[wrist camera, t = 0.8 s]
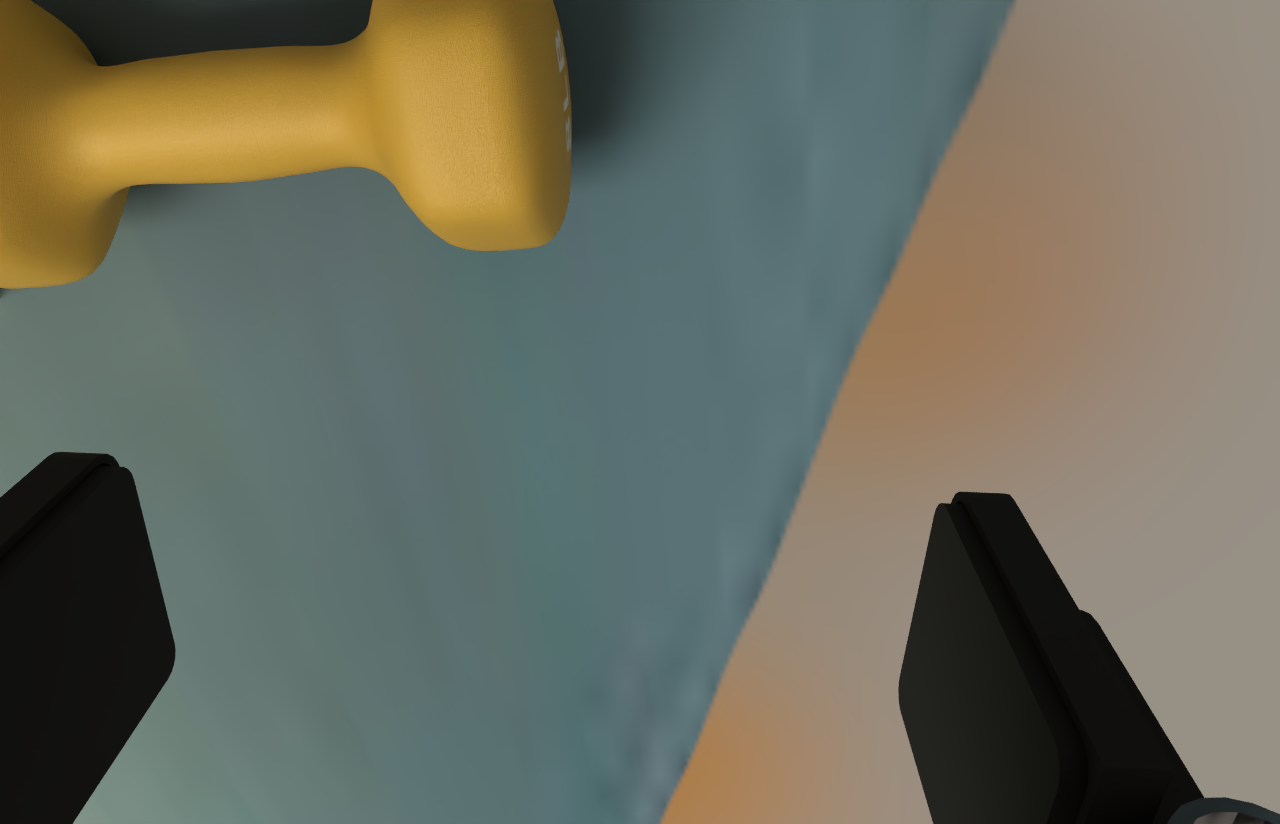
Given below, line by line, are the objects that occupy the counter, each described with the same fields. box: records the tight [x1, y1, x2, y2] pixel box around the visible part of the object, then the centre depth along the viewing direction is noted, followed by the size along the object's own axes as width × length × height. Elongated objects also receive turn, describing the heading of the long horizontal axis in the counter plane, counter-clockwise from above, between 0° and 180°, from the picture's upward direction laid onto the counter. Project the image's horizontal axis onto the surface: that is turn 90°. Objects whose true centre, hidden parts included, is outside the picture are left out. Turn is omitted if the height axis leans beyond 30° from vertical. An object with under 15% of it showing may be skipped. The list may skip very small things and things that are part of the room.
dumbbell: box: [0, 0, 572, 289], centre depth 27 cm, size 19×9×8 cm, turn 94°
